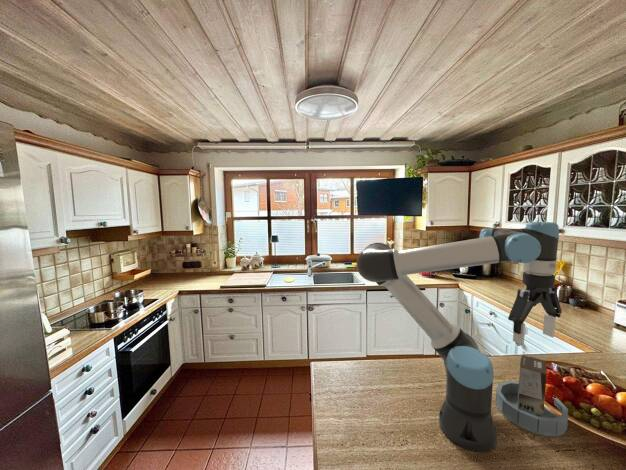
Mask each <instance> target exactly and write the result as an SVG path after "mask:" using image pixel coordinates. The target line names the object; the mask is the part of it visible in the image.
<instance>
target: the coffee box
mask: <svg viewBox="0 0 626 470" xmlns="http://www.w3.org/2000/svg"><path fill="white" fill-rule="evenodd" d="M519 362H520V364H519V374H518V375H519V378H518V382H519V389H518V409H520V410H522V411H525V412H527V413H530V414H533V415H535V416H538V417H543V413H544V401H545V391H546V389H547V376H548V375H547V374H548V371H547V362H546V360H543V359H540V358H537V357H532V356H527V355H523V354H521V356H520V361H519Z"/></svg>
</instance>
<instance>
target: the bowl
mask: <svg viewBox="0 0 626 470" xmlns="http://www.w3.org/2000/svg"><path fill="white" fill-rule="evenodd" d="M518 389H519V381H514V380H506V381H503V382H499V383H497V386H496V393H495V403H496V404H495V405H496V407H497V409H498V411H499V412H500V414H501V415H503V417H504V418H506V419H507V420H508V421H509V422H511V423H512V424H514V425H516V426H518V427H519V428H521V429H523V430H525V431H527V432H529V433H532V434H535V435H539V436H543V437H547V438H549V437H550V438H557V437H560V436H561V437H562V436H563V435H564V434H566V432H567V430H568V423H569V422H568V421H569V414H568V413H569V411H568V407H567V406H566V405H565V404H564V403H563V402H562V401H561V400H560V399H559V398H558V397H556V398H554V397H552V398H553V399H554V405H555V406H556V407H557V408H558V409H559V410H560V411H561V412H562V415H561V416H557V415H555V414H553V413H551V412H550V411H548V410H547V409H546V408H545V407H544V413H543V417H538V416H535V415H533V414H530V413H527V412H525V411H522V410H520V409H518Z"/></svg>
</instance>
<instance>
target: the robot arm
mask: <svg viewBox="0 0 626 470" xmlns="http://www.w3.org/2000/svg"><path fill="white" fill-rule="evenodd" d="M525 225H526V226H525V227H523V228H522V227H521V228H502V227H501V228H499V227H498V228H497V227H492V228H490V227H489V228H482V229H481V230H480V233H479V237H477V238H471V239H466V240H460V241H459V240H458V241H453V242H446V243H441V244H435V245H428V246H423V247H416V248H409V249H404V250H398V249H396V248H392V247H390V246H389V245H388V244H386V243H383V242H373V243H370V244H368V245H367V246H366V247H365V248H364V249H363V250H362V251H361V252H360V253H359V255H358V256H357V259H356V270H357V272H358V274H359V275H360V276H361V277H362V278H363V279H365V280H366V281H368V282H371V283H376V284H377V285H378V286H379V287H384V288H386V289H387V290H388V291H389V293H390V294H391V295H392V296H393V297H394V299H396V300H397V302H398V303H399V304H400V305H401V306H402V308H403V309H404V310H405V311H406V312H407V313H408V314H409V316H410V317H411V318H412V319H413V320H414V322H415V323H416V324H417V325H418V326H419V327H420V329H422V331H424V332H425V334H426V336H428V337H429V338H430V346H431V347H432V349H434V351H435V352H436V353H437V354H438V355H439V357H441V359H442V360H443V364H444V370H445V376H446V385H445V399H444V401H443V403H442V406H441V407H440V410H439V414H438V423H439V427H440V429H441V431H442V432H443V434H444V435H445V436H446V437H447V438H448V439H449V440H451V441H452V442H453V443H455V444H457V446H459V447H462V448H464V449H467V450H469V451H473V452H478V453H480V452H481V453H484V452H485V453H486V452H490V451H492V450H493V449H495V448H496V446H497V444H498V430H497V427H496V425H495V424H494V423H495V422H494V419H493V414H492V402H493V401H492V400H493V382H494V379H495V377H494V376H495V374H494V365H493V363H492V360H491V359H490V358H489V357H488V356H487V355H486V354H485V353H484V352H481V351H480V348H479V345H478V344H477V342H476V341H475V339H474V338H473V337H472V336H471V335H470V334H468V333H467V332H465V331H464V330H463V329H462V328H461V327H460V326H459V325H458V324H452V323H450V321H449V320H448V319H447V318H446V317H445V316H444V315H443V313H442V312H441V311H439V309H438V308H437V307H436V306H435V305H434V303H432V301H431V300H430V299H429V298H428V296H426V295H425V293H424V292H422V290H421V289H420V288H419V287H418V286H417V284H415V282H413V280H412V279H411V278H410V277H409V276H408V275H415V274H422V273H423V274H424V273H430V272H438V271H439V272H440V271H443V270H444V271H446V270H454V269H462V268H468V267H475V266H476V267H477V266H483V265H484V266H485V265H492V264H499V263H509V262H512V263H513V262H514V263H518V264H523V266H522V270H524V271H523V272H522V280H521V281H522V283H523V284H524V285H525V290H524V289H521V288H519V289H517V294H516V297H515V300H514V303H513V305H512V308H511V310H510V313H509V315H508V316H507V320H508V321H511V322H513V328H512V329H513V334H512V335H513V337H512V341H513V342H514V343H517V344H519V345H521V346H524V345H525V335H526V324H525V323H524V322H525V320H526V319H527V318H528V316H529V314H530V313H531V310H532V309H533V307H536V306H537V305H538V304H541V306H542V308H543V309H544V311H545V314H544V316H543V328H542V334H543V335H544V336H545V335H546V336H548V337H551V338H555V332H556V331H555V330H556V320H557V319H556V318H561V316H562V313H563V312H562V311H563V310H562V307H561V304H560V301H559V296H558V288H557V286H555V283H556V276H555V275H554V274H556V268H558V265H557V255H558V246H559V240H560V229H559V228H560V227H559V224H557V223H555V222H553V221H551V222H550V221H528V222H526V224H525Z"/></svg>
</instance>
